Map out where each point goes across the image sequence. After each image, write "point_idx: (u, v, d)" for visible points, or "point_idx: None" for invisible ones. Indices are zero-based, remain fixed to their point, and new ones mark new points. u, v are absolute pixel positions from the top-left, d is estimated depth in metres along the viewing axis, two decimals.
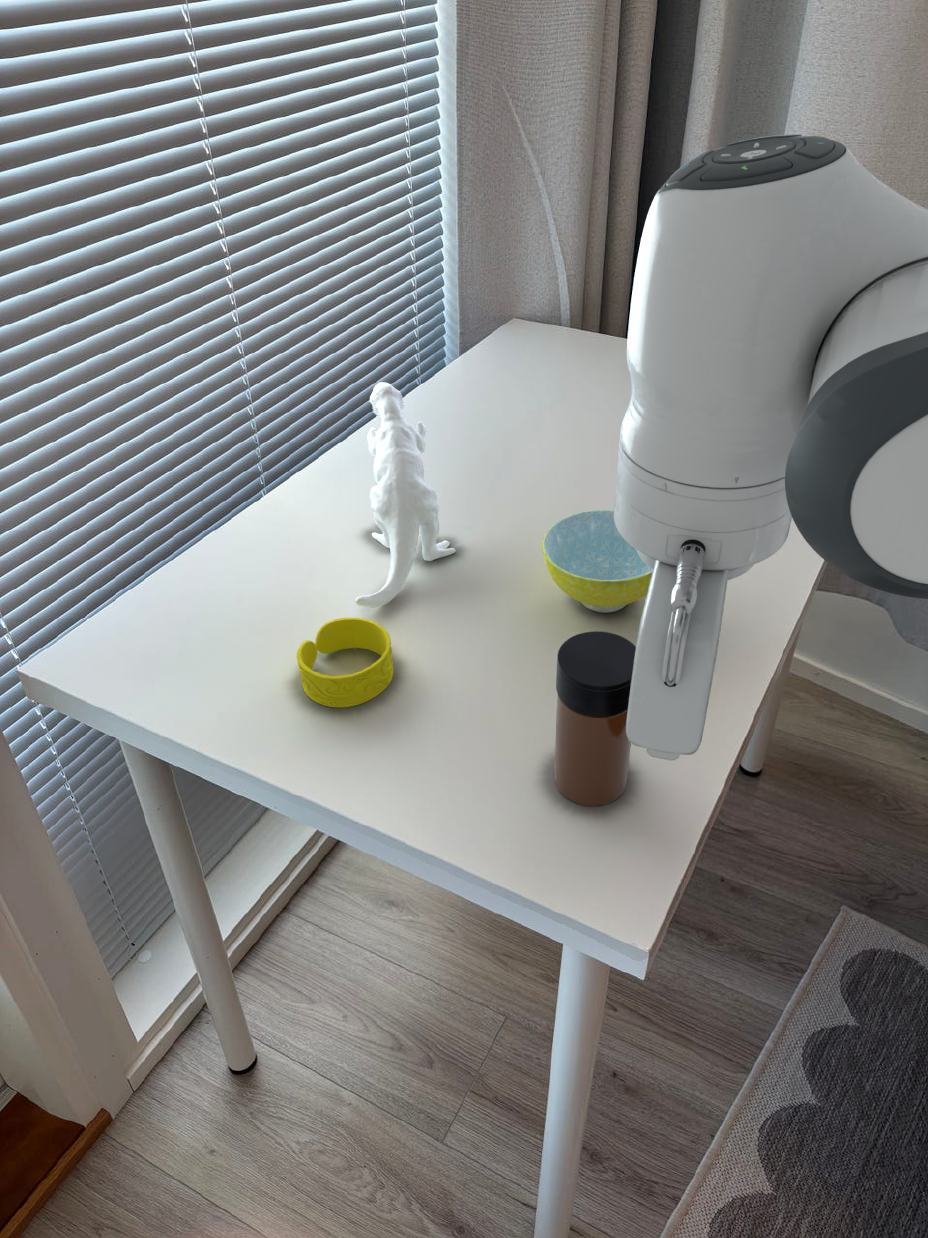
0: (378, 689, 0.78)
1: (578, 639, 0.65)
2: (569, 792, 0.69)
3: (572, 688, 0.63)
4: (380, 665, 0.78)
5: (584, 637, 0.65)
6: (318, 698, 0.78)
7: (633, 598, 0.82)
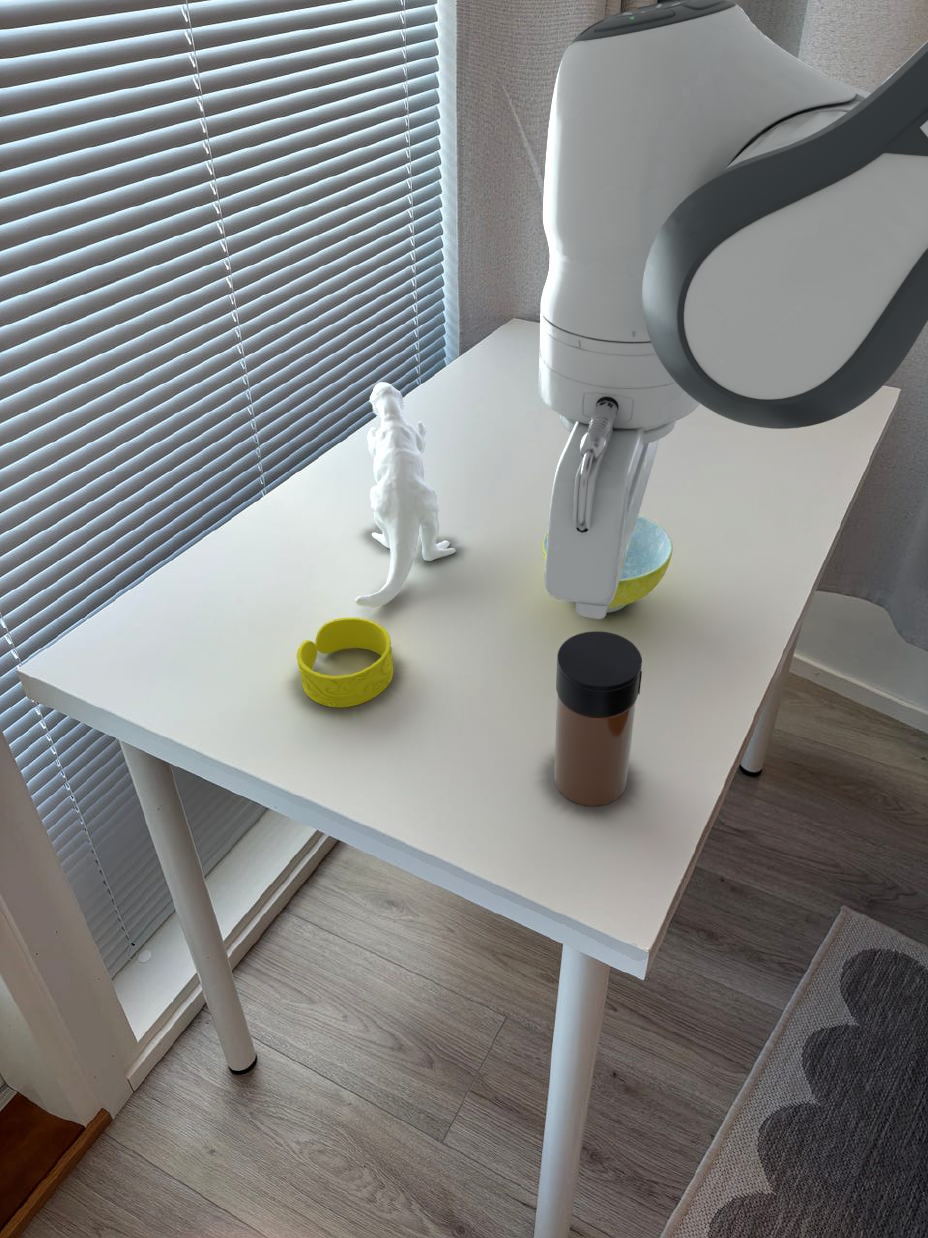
0: (378, 689, 0.78)
1: (578, 639, 0.65)
2: (569, 792, 0.69)
3: (572, 688, 0.63)
4: (380, 665, 0.78)
5: (584, 637, 0.65)
6: (318, 698, 0.78)
7: (633, 598, 0.82)
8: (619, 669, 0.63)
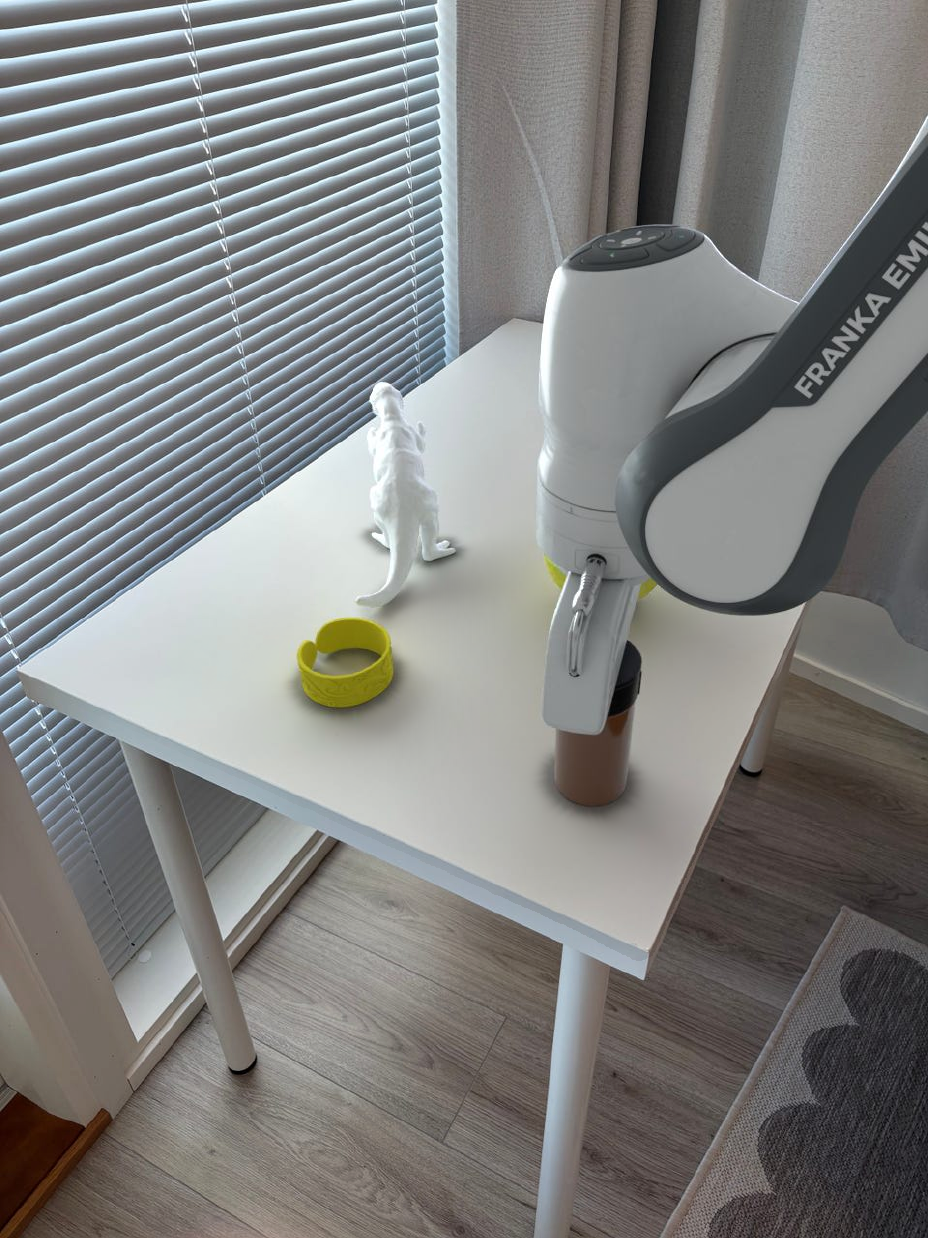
0: (378, 689, 0.78)
1: None
2: (569, 792, 0.69)
3: None
4: (380, 665, 0.78)
5: None
6: (318, 698, 0.78)
7: None
8: (619, 669, 0.63)
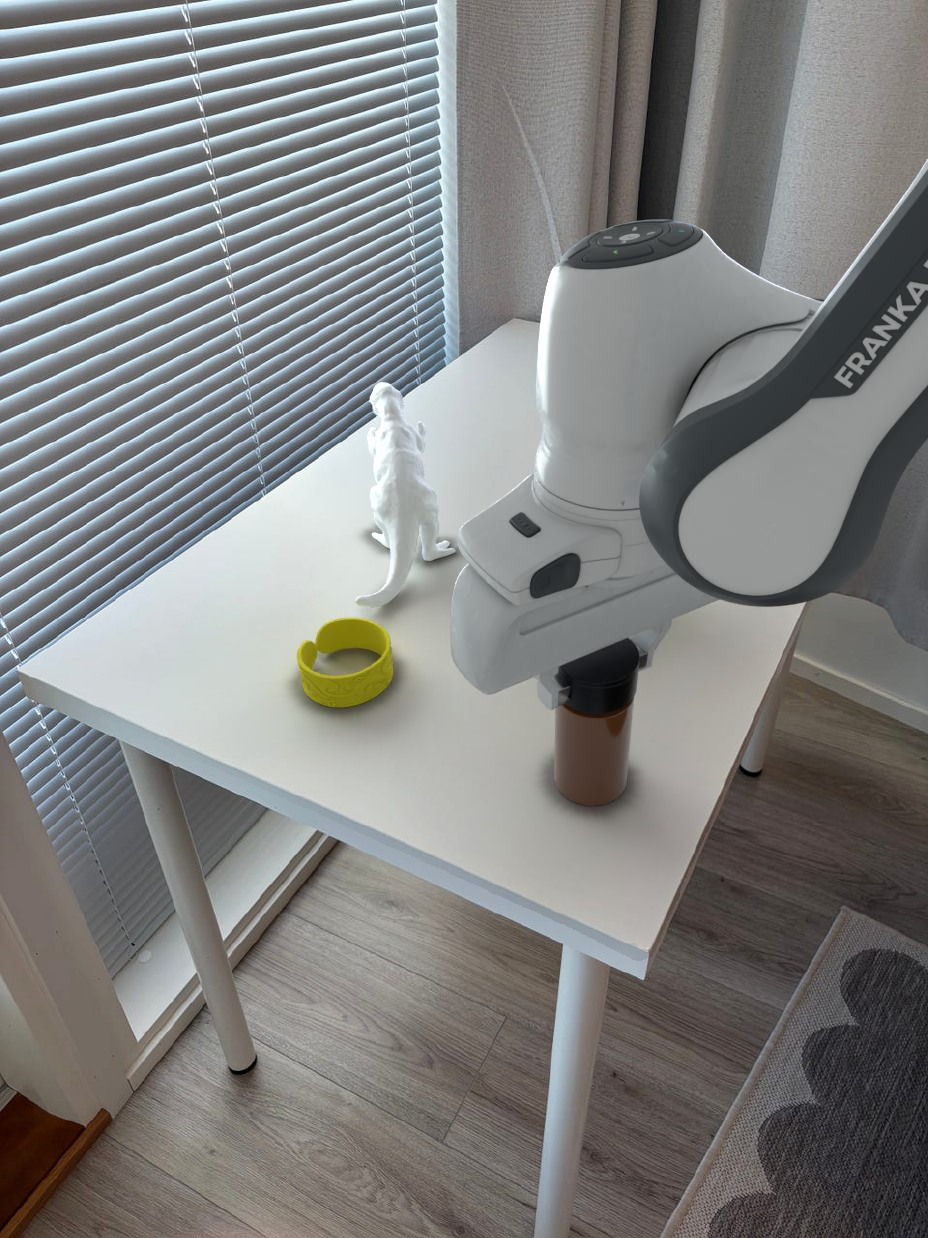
0: (378, 689, 0.78)
1: (593, 677, 0.61)
2: (569, 792, 0.69)
3: None
4: (380, 665, 0.78)
5: (586, 675, 0.62)
6: (318, 698, 0.78)
7: None
8: None
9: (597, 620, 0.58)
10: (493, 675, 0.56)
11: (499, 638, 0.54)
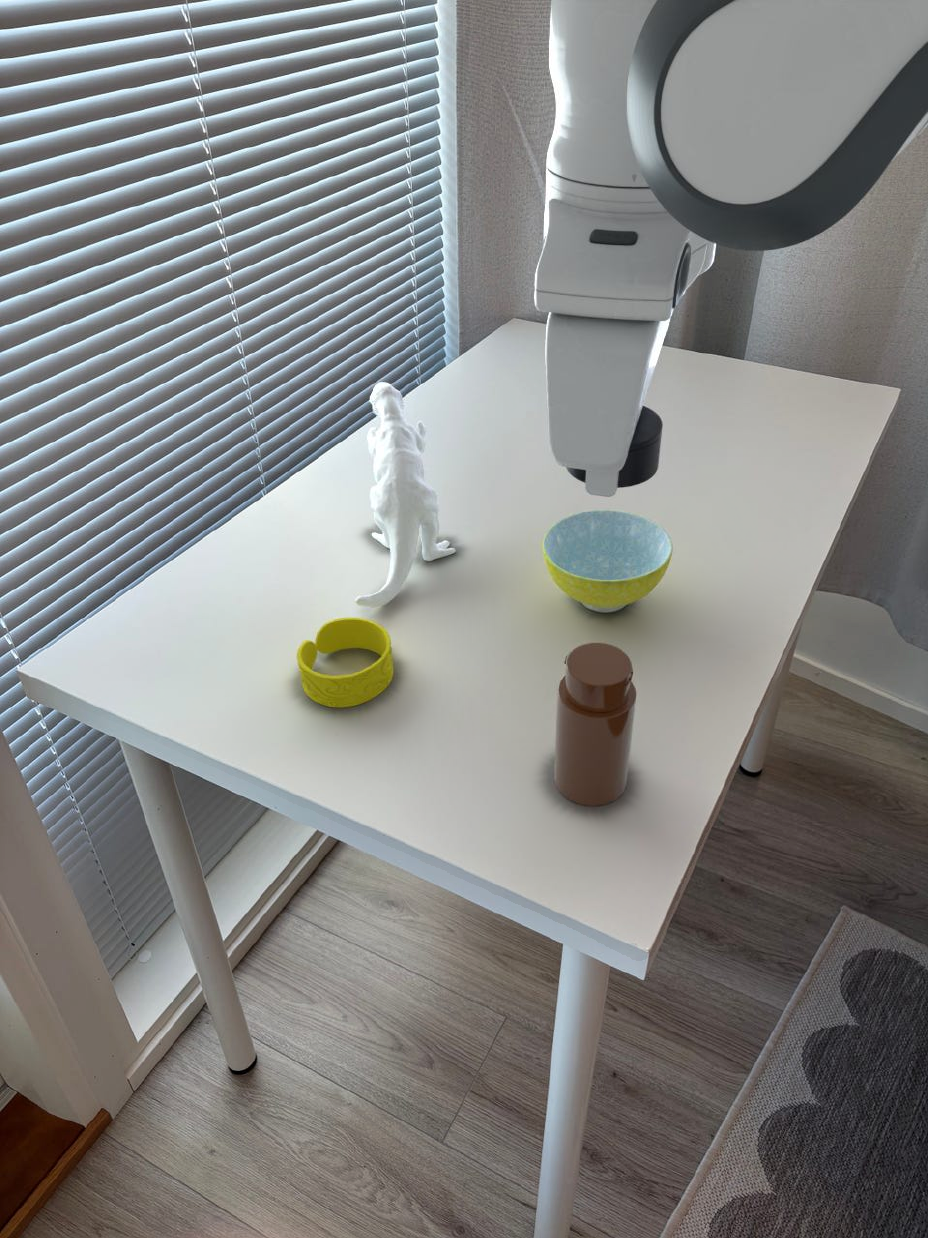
0: (378, 689, 0.78)
1: (640, 437, 0.54)
2: (569, 792, 0.69)
3: None
4: (380, 665, 0.78)
5: (633, 439, 0.54)
6: (318, 698, 0.78)
7: (633, 598, 0.82)
8: None
9: None
10: (631, 437, 0.46)
11: (644, 377, 0.44)
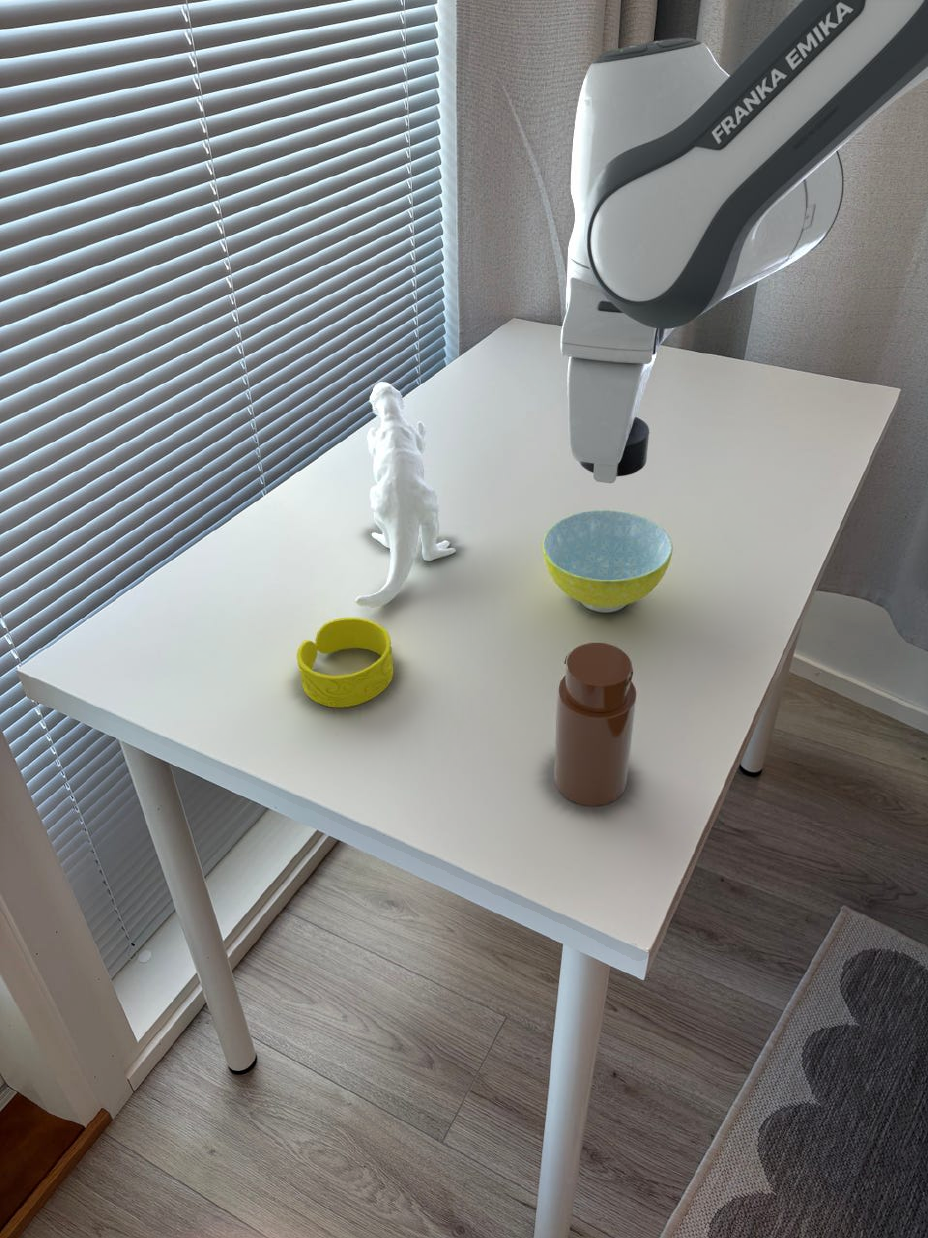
0: (378, 689, 0.78)
1: (632, 440, 0.76)
2: (569, 792, 0.69)
3: None
4: (380, 665, 0.78)
5: (627, 441, 0.76)
6: (318, 698, 0.78)
7: (633, 598, 0.82)
8: None
9: (639, 384, 0.73)
10: (625, 441, 0.67)
11: (634, 400, 0.66)
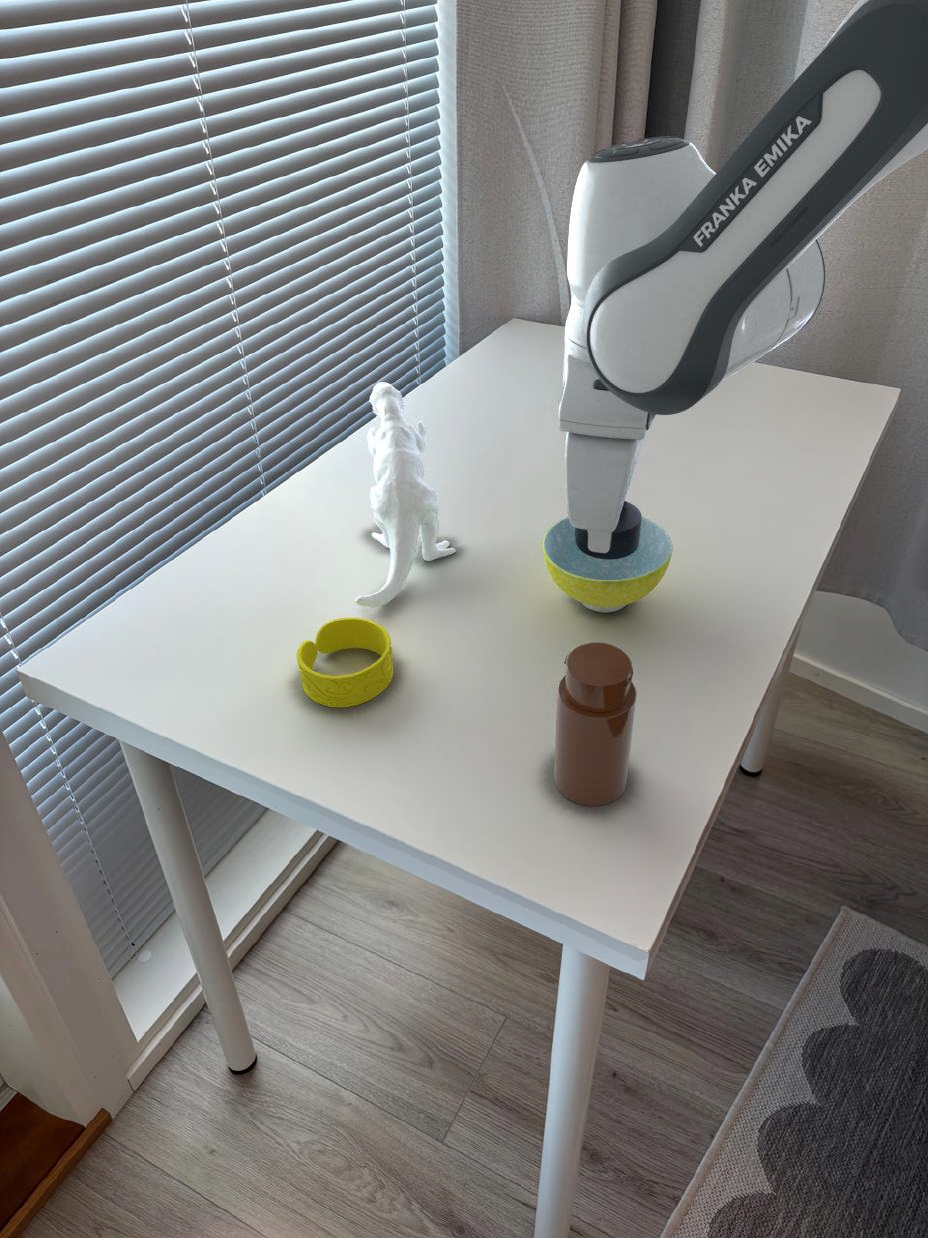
0: (378, 689, 0.78)
1: (626, 526, 0.81)
2: (569, 792, 0.69)
3: None
4: (380, 665, 0.78)
5: (621, 528, 0.81)
6: (318, 698, 0.78)
7: (633, 598, 0.82)
8: None
9: None
10: (620, 510, 0.71)
11: (628, 473, 0.69)
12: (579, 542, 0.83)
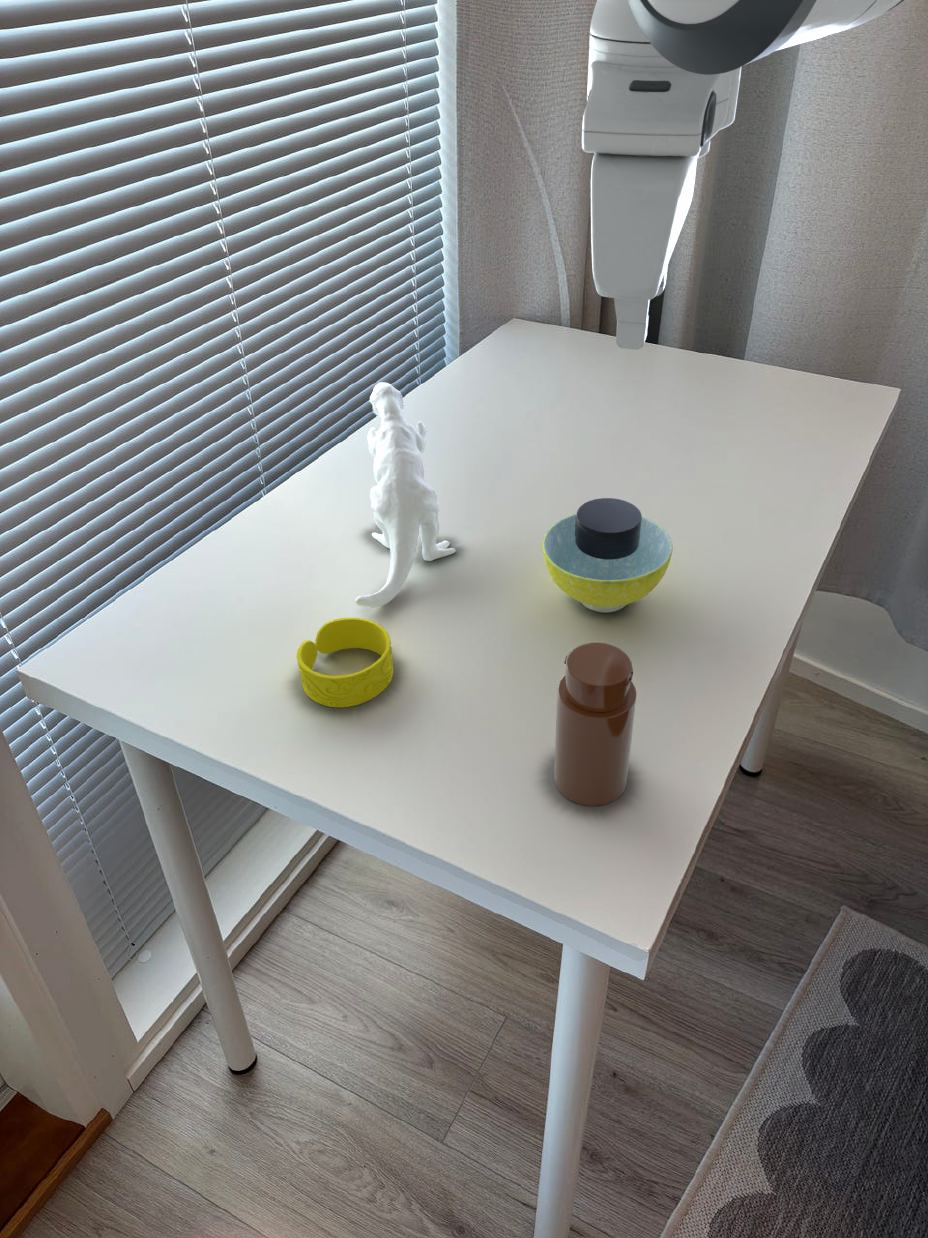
0: (378, 689, 0.78)
1: (626, 526, 0.81)
2: (569, 792, 0.69)
3: None
4: (380, 665, 0.78)
5: (621, 528, 0.81)
6: (318, 698, 0.78)
7: (633, 598, 0.82)
8: (593, 507, 0.83)
9: (677, 210, 0.59)
10: (663, 265, 0.53)
11: (676, 207, 0.52)
12: (579, 542, 0.83)
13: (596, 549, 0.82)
